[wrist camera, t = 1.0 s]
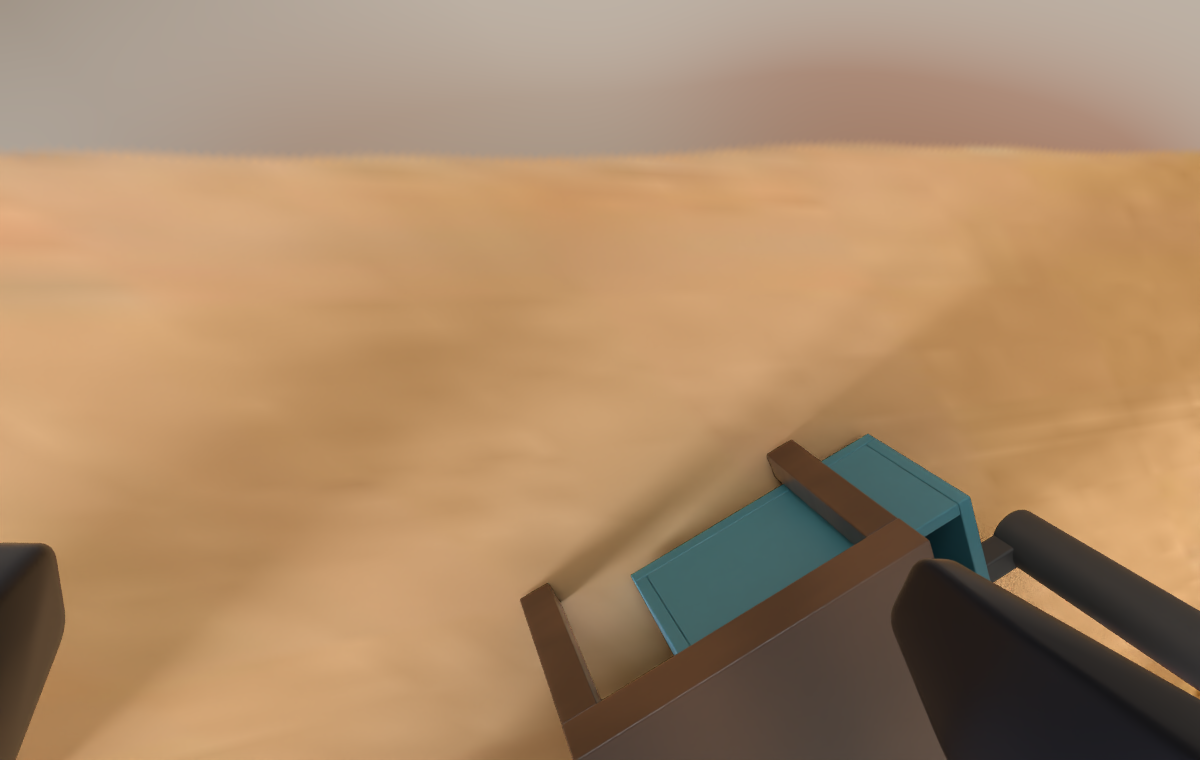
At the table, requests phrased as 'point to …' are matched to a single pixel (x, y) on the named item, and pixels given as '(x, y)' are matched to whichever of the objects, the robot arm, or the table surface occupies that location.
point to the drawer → (946, 518)
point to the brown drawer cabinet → (768, 658)
